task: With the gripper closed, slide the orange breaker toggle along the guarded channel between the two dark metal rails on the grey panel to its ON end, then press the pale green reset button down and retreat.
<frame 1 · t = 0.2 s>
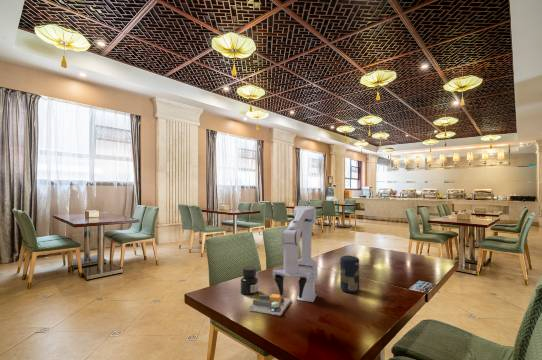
hand: (291, 296, 104), 10 cm above the table, tool pointing down, fingers open, 7 cm apart
ink bottle: (249, 292, 135), on the table
button: (275, 304, 112), point 3 cm above the table, slide at 0.0 cm
panel: (271, 305, 119), on the table
toggle: (275, 299, 118), point 3 cm above the table, slide at 0.0 cm
canister: (349, 291, 138), on the table
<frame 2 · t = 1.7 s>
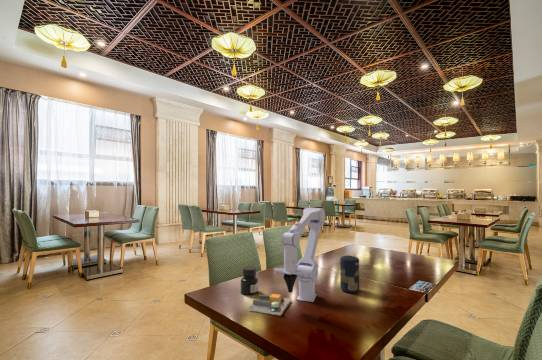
hand: (290, 291, 116), 7 cm above the table, tool pointing down, fingers closed
nothing on the table moved.
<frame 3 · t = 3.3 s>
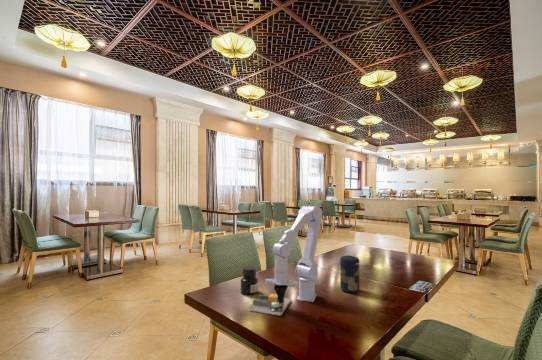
hand: (281, 302, 117), 2 cm above the table, tool pointing down, fingers closed
toggle: (273, 299, 118), point 3 cm above the table, slide at 0.6 cm, touching gripper
everything else where it was.
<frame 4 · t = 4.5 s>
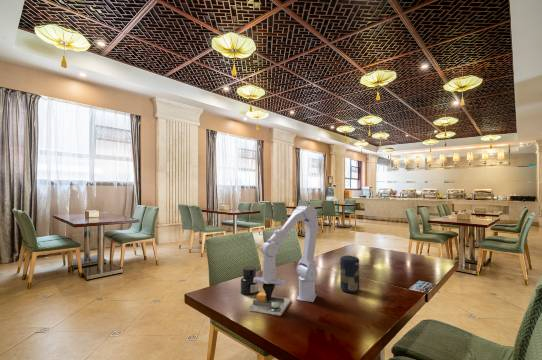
hand: (269, 300, 119), 2 cm above the table, tool pointing down, fingers closed
toggle: (262, 297, 120), point 3 cm above the table, slide at 6.1 cm, touching gripper
everything else where it was.
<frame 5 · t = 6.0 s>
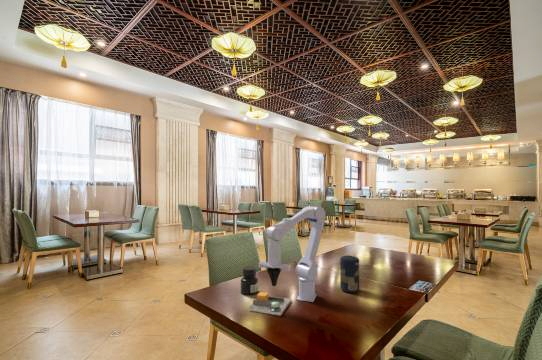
hand: (274, 285, 118), 9 cm above the table, tool pointing down, fingers closed
toggle: (262, 297, 120), point 3 cm above the table, slide at 6.0 cm
everything else where it was.
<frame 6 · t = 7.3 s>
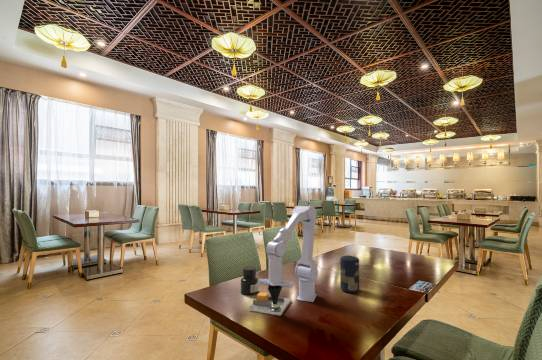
hand: (275, 303, 112), 4 cm above the table, tool pointing down, fingers closed, pressing on button
button: (275, 304, 112), point 3 cm above the table, slide at 0.1 cm, touching gripper
everything else where it was.
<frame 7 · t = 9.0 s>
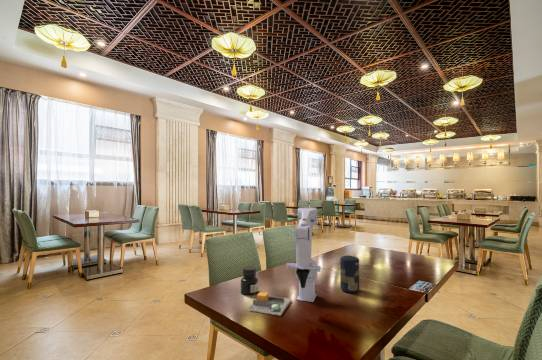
hand: (303, 287, 113), 10 cm above the table, tool pointing down, fingers closed
button: (275, 307, 112), point 2 cm above the table, slide at 1.0 cm
everything else where it was.
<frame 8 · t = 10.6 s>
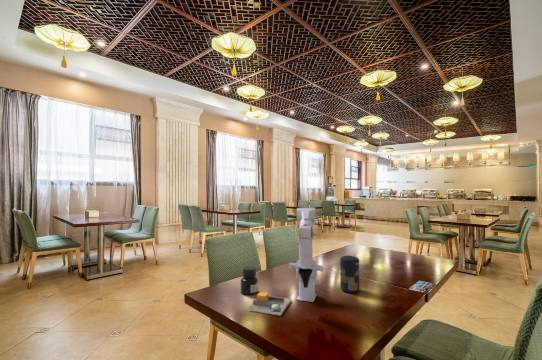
hand: (305, 286, 113), 10 cm above the table, tool pointing down, fingers closed
nothing on the table moved.
at the end: toggle slide at 6.0 cm; button slide at 1.0 cm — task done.
